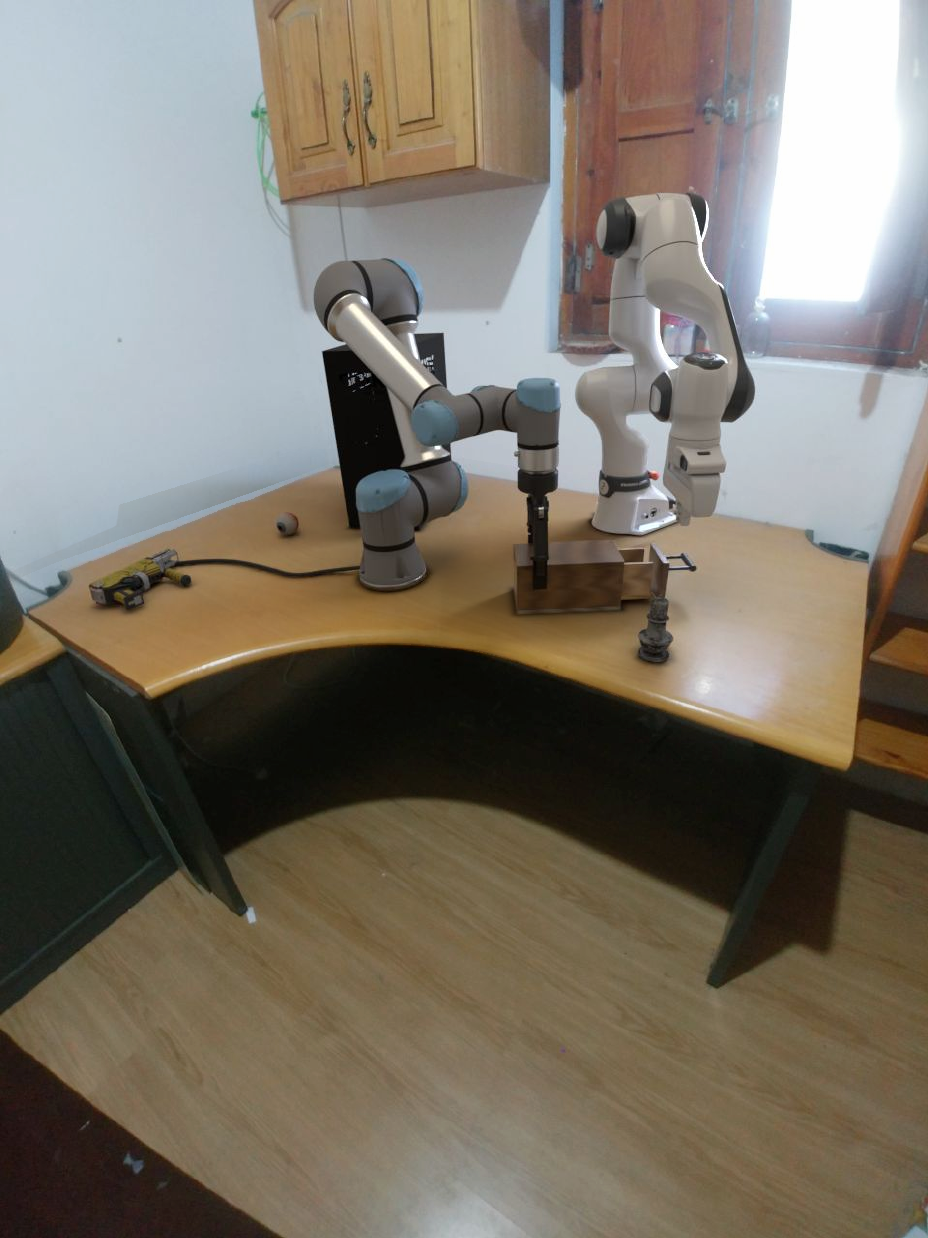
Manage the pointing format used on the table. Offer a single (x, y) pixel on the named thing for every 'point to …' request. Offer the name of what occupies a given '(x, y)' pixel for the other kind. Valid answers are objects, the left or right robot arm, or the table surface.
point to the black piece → (369, 415)
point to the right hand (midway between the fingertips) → (682, 523)
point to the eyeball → (287, 523)
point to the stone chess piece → (656, 632)
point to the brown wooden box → (570, 578)
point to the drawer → (648, 571)
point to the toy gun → (136, 580)
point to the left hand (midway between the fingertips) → (536, 575)
